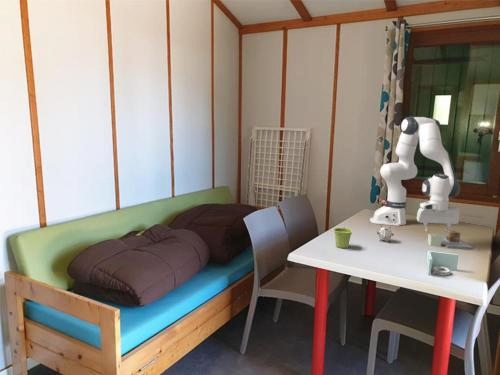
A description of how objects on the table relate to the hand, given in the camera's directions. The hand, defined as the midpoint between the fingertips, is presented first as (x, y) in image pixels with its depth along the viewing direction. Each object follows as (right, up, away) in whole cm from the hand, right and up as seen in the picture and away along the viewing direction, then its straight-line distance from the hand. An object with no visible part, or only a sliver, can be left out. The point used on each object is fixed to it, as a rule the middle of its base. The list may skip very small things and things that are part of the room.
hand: (436, 231), depth 201 cm
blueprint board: (+11, -7, +5) cm, 14 cm away
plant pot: (-51, -7, -5) cm, 52 cm away
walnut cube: (+11, -6, +5) cm, 13 cm away
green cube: (-1, -7, +2) cm, 8 cm away
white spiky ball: (-25, -6, +6) cm, 27 cm away
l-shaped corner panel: (-16, -14, -38) cm, 43 cm away
